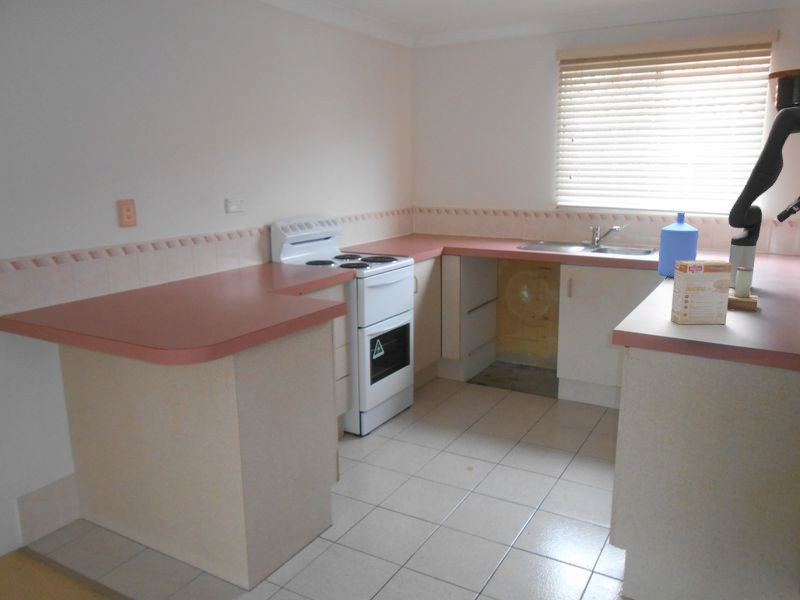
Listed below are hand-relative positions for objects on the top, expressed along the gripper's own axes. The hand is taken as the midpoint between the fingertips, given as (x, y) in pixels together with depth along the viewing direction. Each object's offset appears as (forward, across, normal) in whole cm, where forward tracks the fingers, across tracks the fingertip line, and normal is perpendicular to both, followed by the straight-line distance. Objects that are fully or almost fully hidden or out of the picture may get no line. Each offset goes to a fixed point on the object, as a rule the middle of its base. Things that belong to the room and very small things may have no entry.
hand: (778, 219), depth 226 cm
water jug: (+48, -57, -4) cm, 74 cm away
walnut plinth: (+28, +7, +16) cm, 33 cm away
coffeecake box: (+36, +38, +8) cm, 53 cm away
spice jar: (+25, +7, +13) cm, 29 cm away
